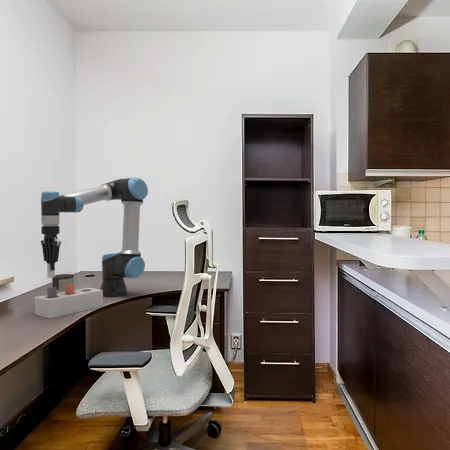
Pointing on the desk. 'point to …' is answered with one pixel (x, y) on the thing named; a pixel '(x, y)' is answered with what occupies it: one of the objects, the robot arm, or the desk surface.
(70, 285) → the red plug
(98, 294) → the panel
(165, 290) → the desk surface
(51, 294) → the charcoal plug
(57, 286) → the coffee can
